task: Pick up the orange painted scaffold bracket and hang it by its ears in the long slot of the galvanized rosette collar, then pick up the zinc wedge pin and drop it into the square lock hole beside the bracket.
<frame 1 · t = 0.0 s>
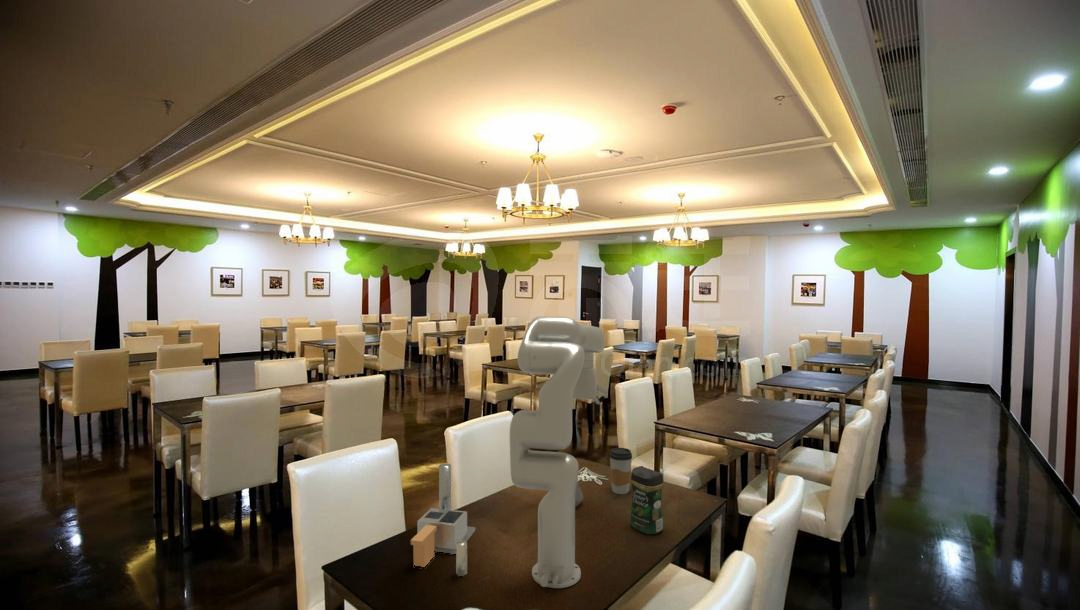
hand: (582, 414, 174), 31 cm above the table, fingers open, 9 cm apart
coffee jar: (646, 529, 157), on the table
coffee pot: (556, 509, 172), on the table
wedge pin: (461, 573, 132), on the table
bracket: (424, 562, 138), on the table
coffee cup: (620, 491, 187), on the table
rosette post: (447, 539, 150), on the table
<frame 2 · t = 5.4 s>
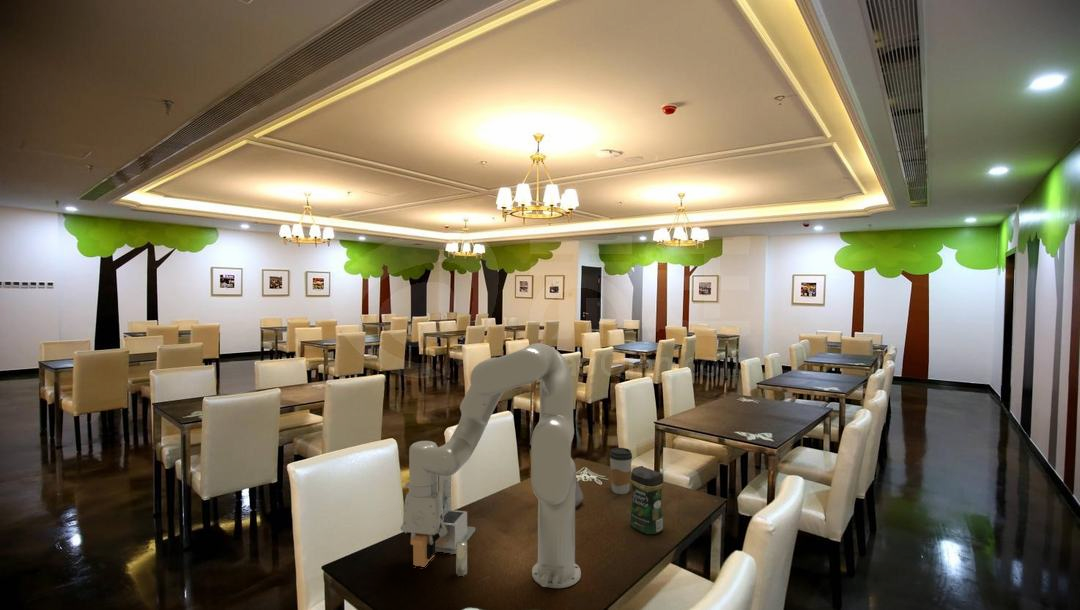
hand: (424, 555, 138), 2 cm above the table, fingers closed on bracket, 3 cm apart
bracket: (424, 562, 138), on the table, touching gripper
everything else where it was.
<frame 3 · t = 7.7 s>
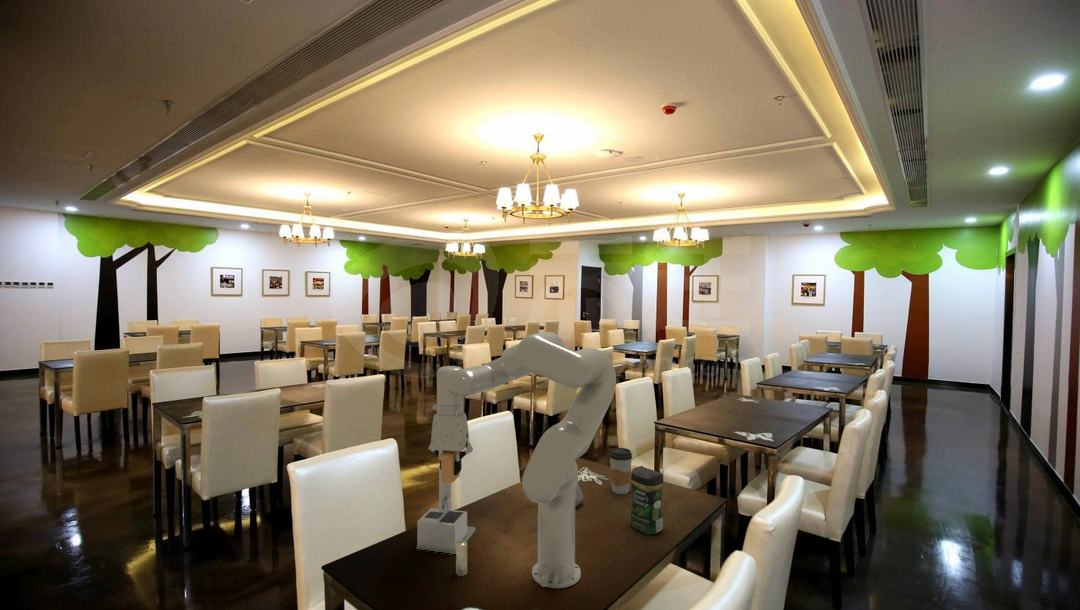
hand: (450, 472, 147), 21 cm above the table, fingers closed on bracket, 3 cm apart
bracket: (450, 478, 147), point 19 cm above the table, touching gripper
everything else where it was.
when the fingers open (8 cm above the table, at t = 10.3 s): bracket drops 5 cm, resting on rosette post.
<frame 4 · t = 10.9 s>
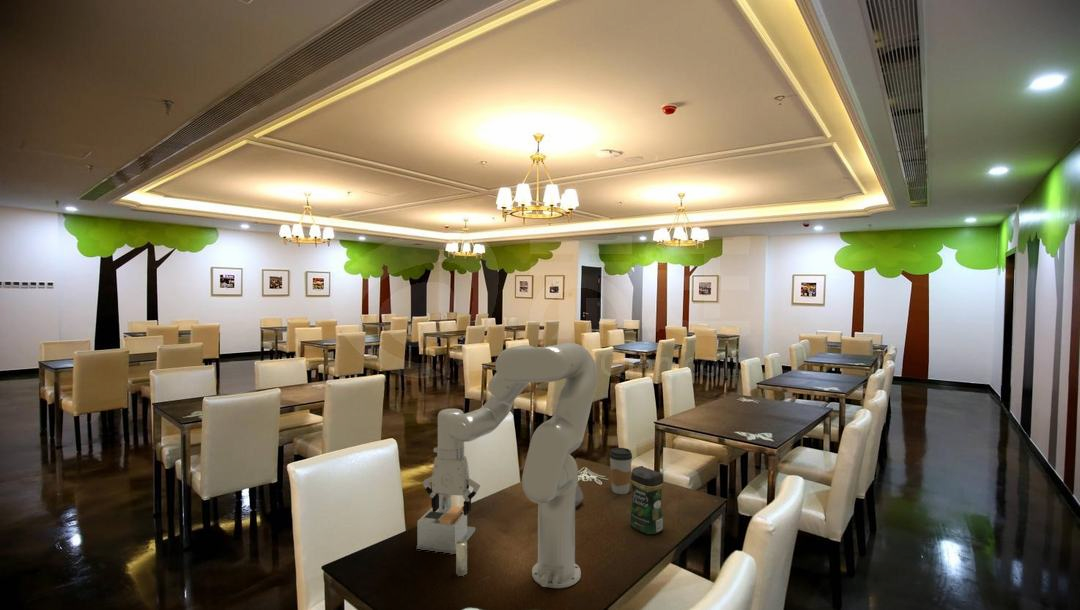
hand: (451, 511, 147), 10 cm above the table, fingers open, 9 cm apart
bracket: (451, 540, 147), point 1 cm above the table, touching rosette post
everything else where it was.
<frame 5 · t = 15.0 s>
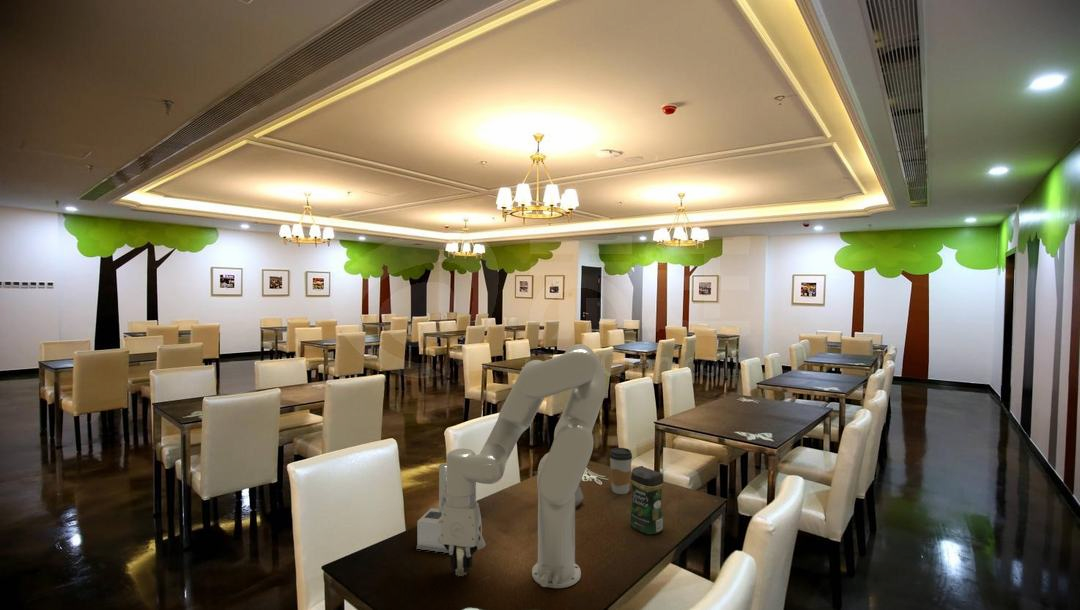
hand: (461, 568, 132), 1 cm above the table, fingers closed on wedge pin, 2 cm apart
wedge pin: (461, 573, 132), on the table, touching gripper
everything else where it was.
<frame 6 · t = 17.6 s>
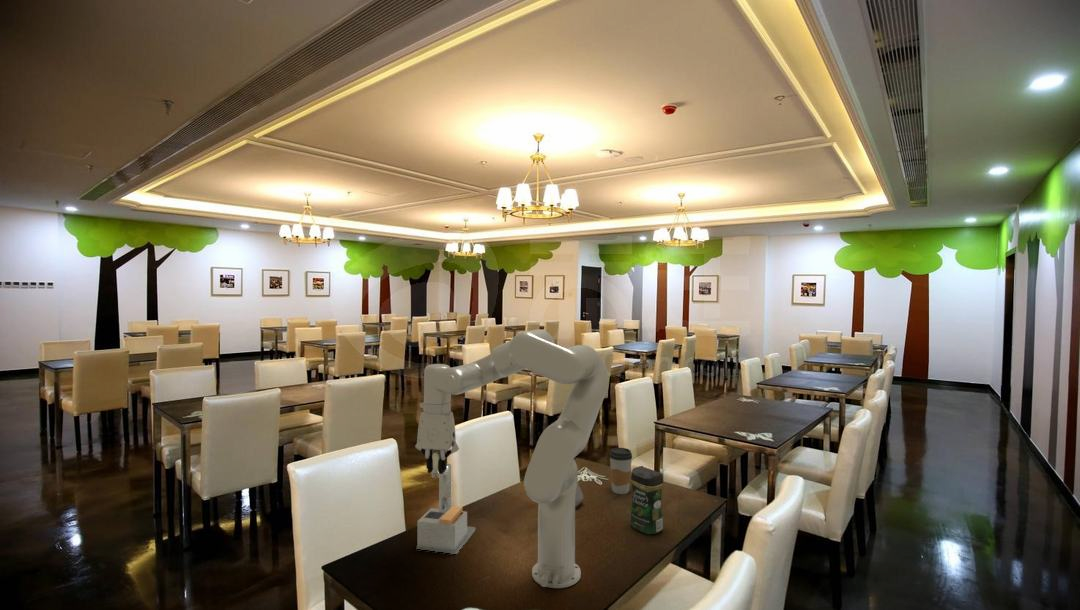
hand: (436, 471, 146), 22 cm above the table, fingers closed on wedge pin, 2 cm apart
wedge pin: (436, 476, 146), point 20 cm above the table, touching gripper
everything else where it was.
when the fingers open (8 cm above the table, at t = 20.5 s): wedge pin drops 3 cm, resting on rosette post.
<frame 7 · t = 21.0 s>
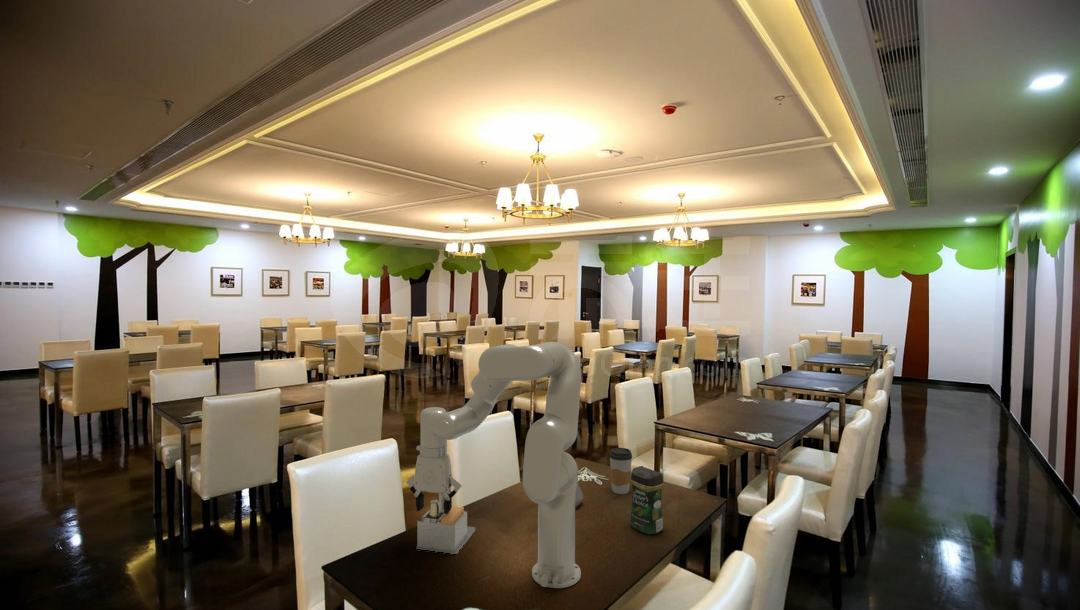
hand: (433, 510, 148), 9 cm above the table, fingers open, 8 cm apart
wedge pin: (434, 528, 148), point 4 cm above the table, touching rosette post
everything else where it was.
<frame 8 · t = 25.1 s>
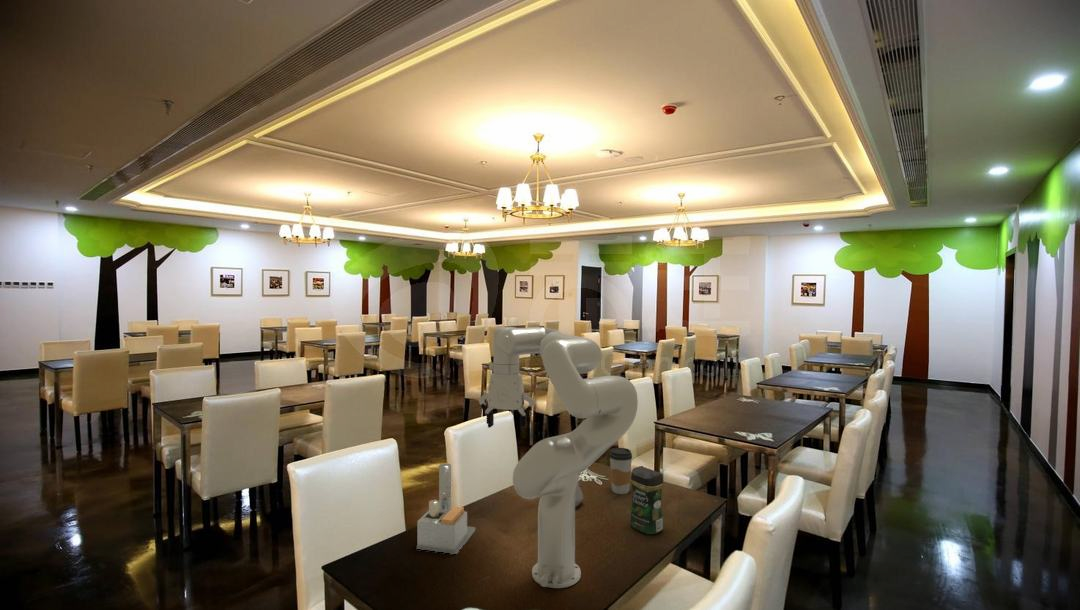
hand: (506, 427, 149), 33 cm above the table, fingers open, 9 cm apart
nothing on the table moved.
at the end: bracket 0.5 cm from the target spot on the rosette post, point 1.2 cm above the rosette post's base; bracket tilted 0°; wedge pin 0.2 cm from the target spot on the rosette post, point 4.0 cm above the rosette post's base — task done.
